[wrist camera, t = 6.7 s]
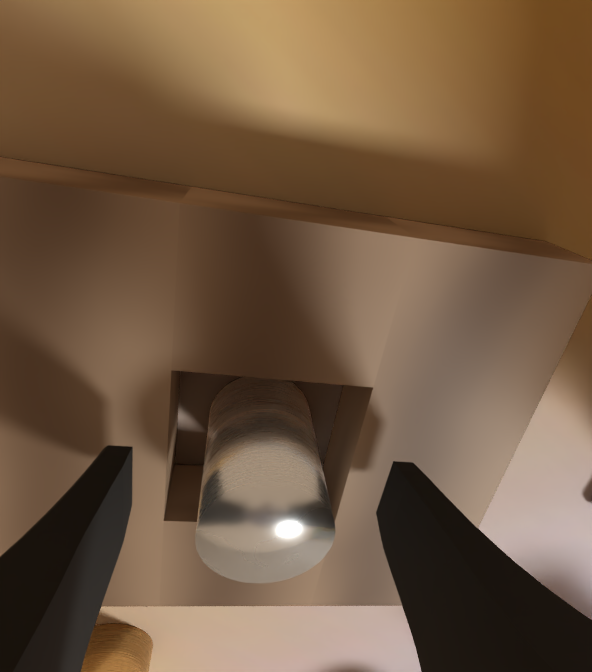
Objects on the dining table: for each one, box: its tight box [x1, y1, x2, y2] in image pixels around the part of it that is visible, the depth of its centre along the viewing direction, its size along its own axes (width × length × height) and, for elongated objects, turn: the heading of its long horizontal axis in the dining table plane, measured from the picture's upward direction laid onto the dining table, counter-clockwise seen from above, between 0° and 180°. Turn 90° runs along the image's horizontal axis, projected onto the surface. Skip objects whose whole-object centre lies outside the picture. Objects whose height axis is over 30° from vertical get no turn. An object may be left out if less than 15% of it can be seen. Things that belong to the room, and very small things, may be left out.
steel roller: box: [195, 377, 335, 583], centre depth 13 cm, size 4×4×5 cm
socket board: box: [0, 157, 592, 606], centre depth 14 cm, size 16×14×2 cm
